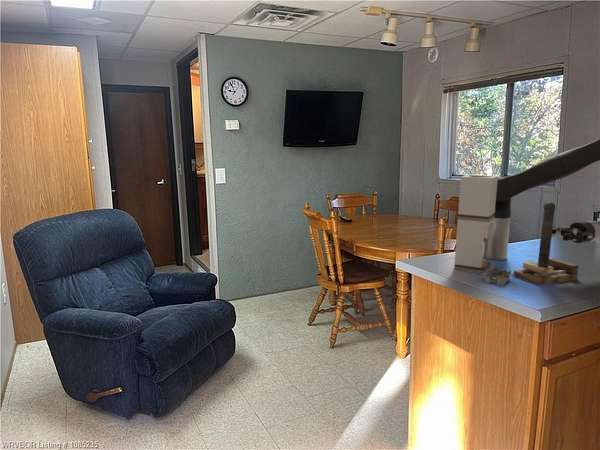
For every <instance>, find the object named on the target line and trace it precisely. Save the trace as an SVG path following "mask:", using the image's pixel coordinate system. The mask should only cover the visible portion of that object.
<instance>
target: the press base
mask: <svg viewBox="0 0 600 450" xmlns="http://www.w3.org/2000/svg"><path fill="white" fill-rule="evenodd" d="M548 266H551V267H553V273H547V274H540V273H537V272H534V271H531V270H527V269H524V268H522V269H515V270H513V277H516V278H517V279H522V280H524V281H527V282H529V283H533V284H535V285H538V286H541V285H542V286H543V285H547V284H553V283H554V284H555V283H556V284H557V283H562V282H569V281H576V280H578V277H579V274H578V273H579V264H575V263H573V262H568V261H565V260H561V259H558V258H549V264H548Z"/></svg>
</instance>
